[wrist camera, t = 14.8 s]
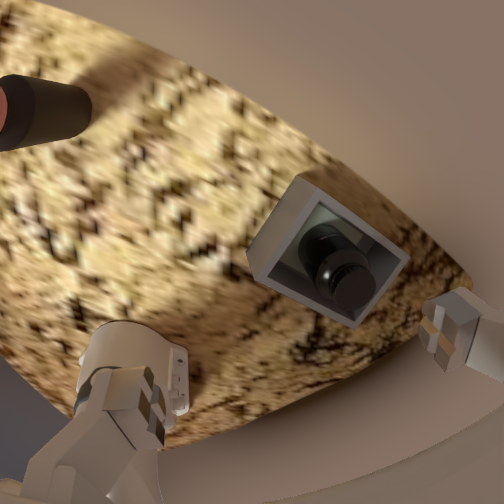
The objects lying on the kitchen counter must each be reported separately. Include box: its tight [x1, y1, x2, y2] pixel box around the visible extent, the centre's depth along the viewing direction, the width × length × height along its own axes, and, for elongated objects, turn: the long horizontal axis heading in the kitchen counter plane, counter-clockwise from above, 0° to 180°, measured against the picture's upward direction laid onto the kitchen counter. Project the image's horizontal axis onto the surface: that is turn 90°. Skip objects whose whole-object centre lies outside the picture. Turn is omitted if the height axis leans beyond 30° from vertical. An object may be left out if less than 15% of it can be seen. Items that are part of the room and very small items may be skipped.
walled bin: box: [246, 175, 410, 330], centre depth 40 cm, size 16×12×8 cm
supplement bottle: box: [298, 225, 376, 311], centre depth 37 cm, size 7×7×12 cm
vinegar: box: [0, 74, 92, 152], centre depth 23 cm, size 7×7×20 cm
